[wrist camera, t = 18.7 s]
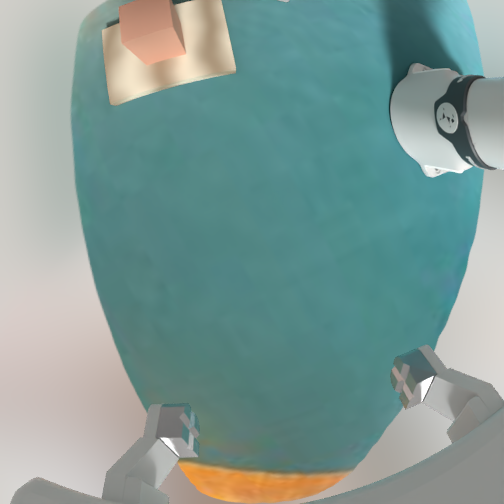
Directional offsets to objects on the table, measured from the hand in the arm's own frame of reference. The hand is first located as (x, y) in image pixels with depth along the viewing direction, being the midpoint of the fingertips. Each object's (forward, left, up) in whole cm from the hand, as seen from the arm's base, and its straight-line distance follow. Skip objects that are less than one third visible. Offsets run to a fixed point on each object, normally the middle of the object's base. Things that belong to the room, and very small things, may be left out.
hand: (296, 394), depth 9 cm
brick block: (+6, -24, -27) cm, 36 cm away
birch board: (+6, -24, -29) cm, 38 cm away
